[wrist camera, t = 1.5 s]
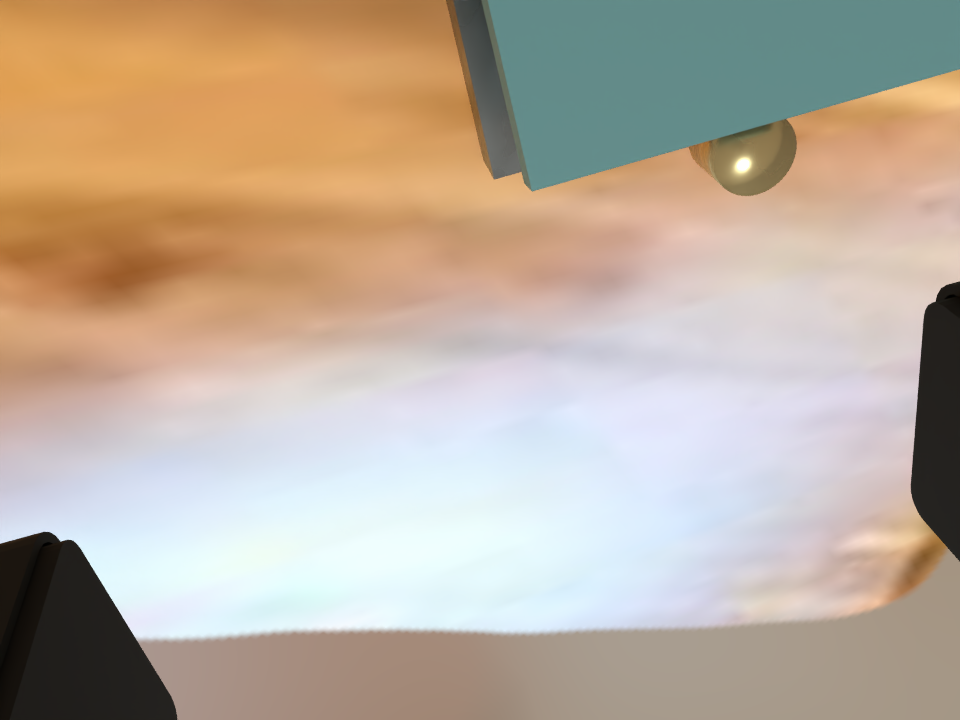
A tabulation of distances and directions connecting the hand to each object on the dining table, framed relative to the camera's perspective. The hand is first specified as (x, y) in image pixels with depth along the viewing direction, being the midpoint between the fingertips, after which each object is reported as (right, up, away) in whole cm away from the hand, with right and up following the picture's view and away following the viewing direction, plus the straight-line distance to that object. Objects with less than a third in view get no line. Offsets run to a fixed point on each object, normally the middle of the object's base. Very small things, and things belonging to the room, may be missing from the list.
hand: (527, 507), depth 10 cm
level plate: (+7, +17, +14) cm, 23 cm away
